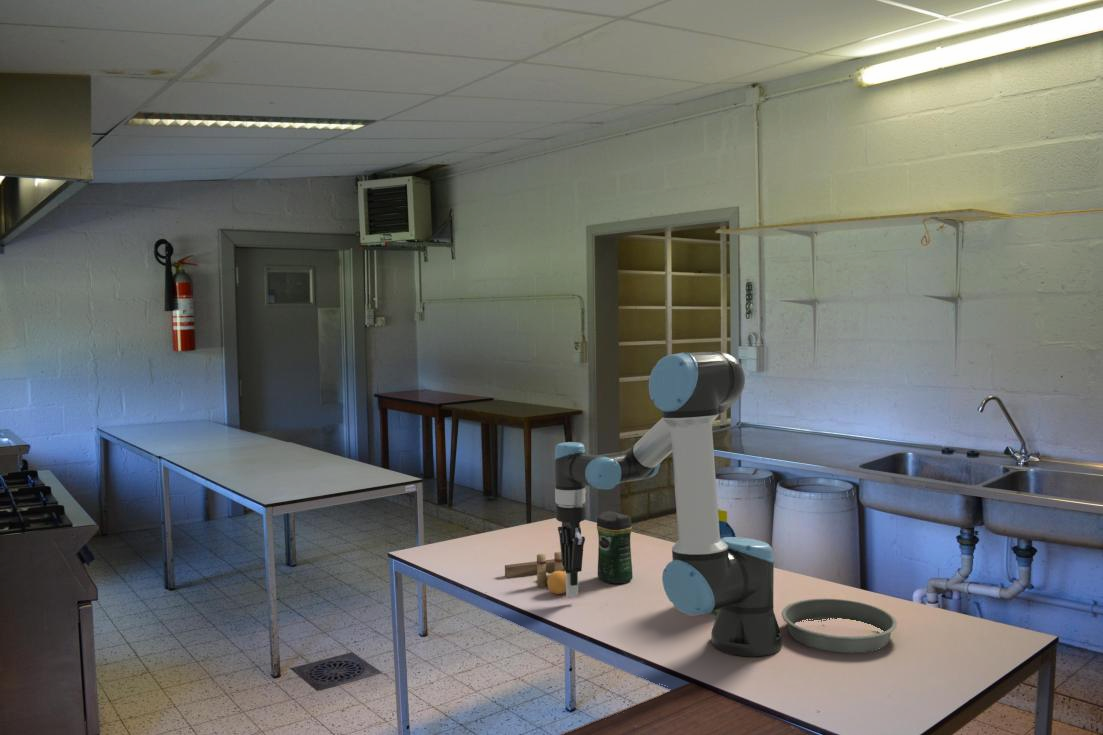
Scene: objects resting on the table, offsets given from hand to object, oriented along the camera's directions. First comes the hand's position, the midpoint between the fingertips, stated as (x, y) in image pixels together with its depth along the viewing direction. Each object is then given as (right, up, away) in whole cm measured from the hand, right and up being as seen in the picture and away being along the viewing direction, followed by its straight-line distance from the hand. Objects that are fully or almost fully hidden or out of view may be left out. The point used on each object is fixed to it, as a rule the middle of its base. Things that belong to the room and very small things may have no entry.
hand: (572, 596), depth 217 cm
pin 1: (-8, -1, +15) cm, 17 cm away
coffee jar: (+12, -1, +19) cm, 23 cm away
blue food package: (+34, -2, -4) cm, 35 cm away
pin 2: (-3, -1, +16) cm, 17 cm away
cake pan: (+59, -3, -23) cm, 64 cm away
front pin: (-5, 0, +13) cm, 13 cm away
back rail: (-9, 0, +26) cm, 28 cm away
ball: (-3, +2, +8) cm, 9 cm away
